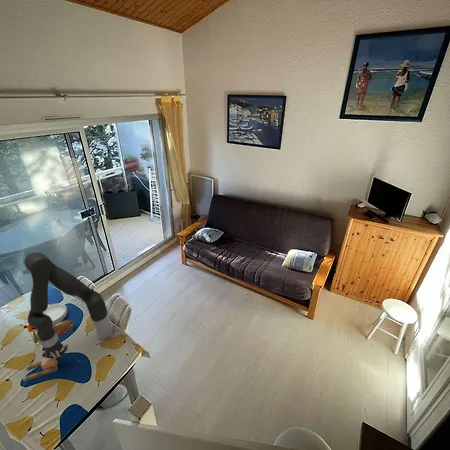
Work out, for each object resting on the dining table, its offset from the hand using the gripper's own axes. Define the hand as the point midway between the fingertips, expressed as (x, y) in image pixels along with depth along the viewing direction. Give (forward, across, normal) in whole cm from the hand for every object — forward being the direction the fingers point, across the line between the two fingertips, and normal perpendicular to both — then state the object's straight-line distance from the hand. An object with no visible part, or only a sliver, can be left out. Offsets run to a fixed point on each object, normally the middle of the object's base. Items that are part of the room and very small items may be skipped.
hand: (60, 359), depth 142 cm
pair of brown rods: (+4, +10, 0) cm, 10 cm away
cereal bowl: (+4, +8, -37) cm, 38 cm away
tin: (+4, +2, -23) cm, 24 cm away
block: (+4, +6, 0) cm, 7 cm away
